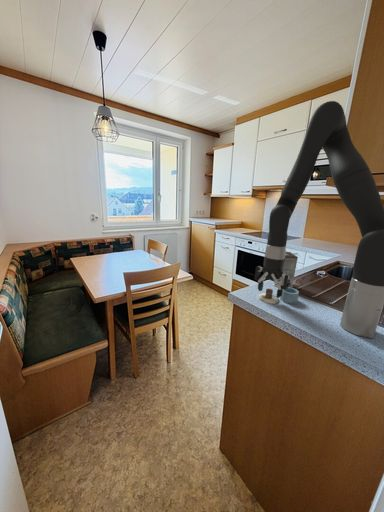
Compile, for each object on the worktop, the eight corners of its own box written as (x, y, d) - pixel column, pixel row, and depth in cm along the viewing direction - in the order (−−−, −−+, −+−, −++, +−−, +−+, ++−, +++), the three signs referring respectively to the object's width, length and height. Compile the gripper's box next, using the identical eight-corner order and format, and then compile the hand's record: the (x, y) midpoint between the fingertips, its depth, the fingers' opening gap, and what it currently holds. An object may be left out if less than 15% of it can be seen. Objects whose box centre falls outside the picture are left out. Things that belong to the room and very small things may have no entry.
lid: (281, 300, 90) (283, 290, 88) (272, 306, 84) (274, 295, 83) (264, 293, 95) (265, 284, 94) (254, 298, 90) (256, 289, 89)
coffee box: (272, 281, 110) (277, 251, 105) (285, 281, 110) (290, 251, 105) (279, 288, 101) (284, 256, 96) (292, 289, 101) (298, 256, 96)
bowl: (299, 300, 89) (301, 290, 88) (293, 305, 85) (294, 295, 84) (284, 295, 94) (285, 285, 93) (277, 299, 90) (278, 289, 88)
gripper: (296, 258, 82) (289, 297, 87) (262, 251, 92) (258, 286, 97) (288, 262, 77) (281, 302, 82) (253, 253, 87) (249, 290, 92)
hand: (269, 293), depth 89 cm, fingers open, 7 cm apart
